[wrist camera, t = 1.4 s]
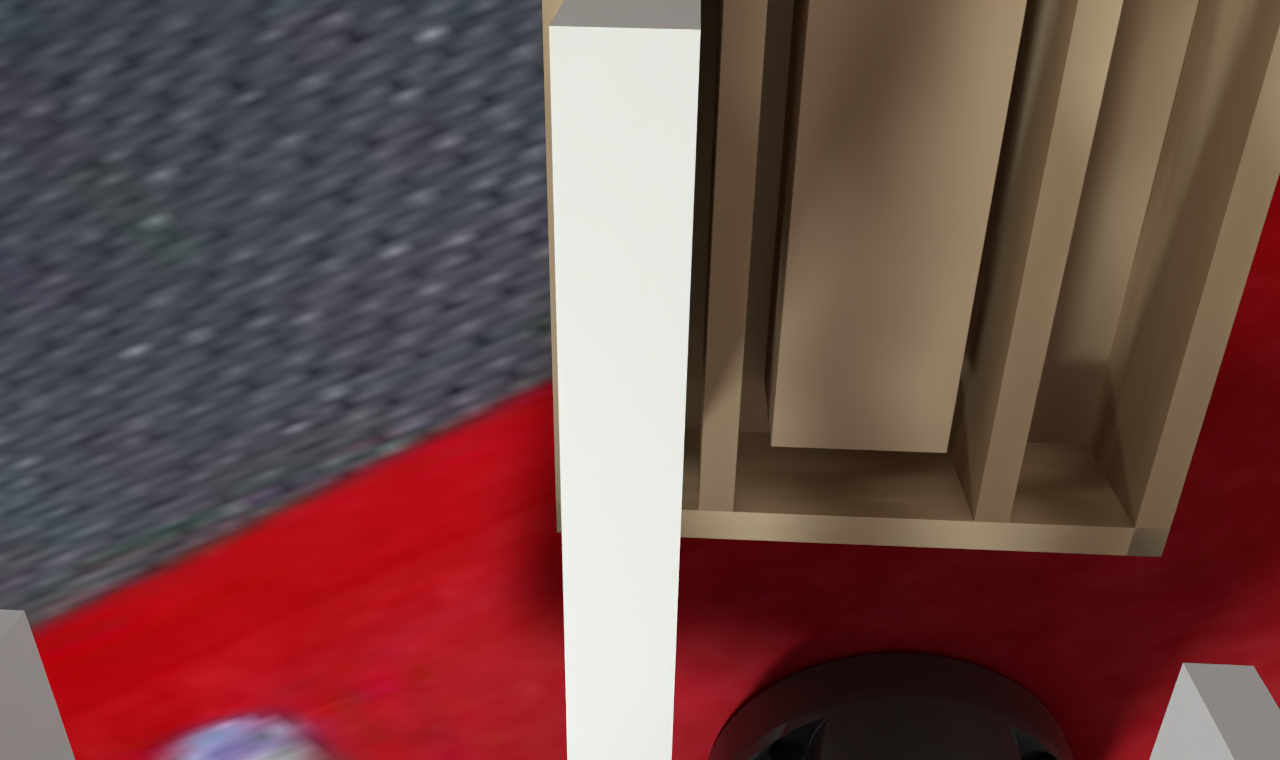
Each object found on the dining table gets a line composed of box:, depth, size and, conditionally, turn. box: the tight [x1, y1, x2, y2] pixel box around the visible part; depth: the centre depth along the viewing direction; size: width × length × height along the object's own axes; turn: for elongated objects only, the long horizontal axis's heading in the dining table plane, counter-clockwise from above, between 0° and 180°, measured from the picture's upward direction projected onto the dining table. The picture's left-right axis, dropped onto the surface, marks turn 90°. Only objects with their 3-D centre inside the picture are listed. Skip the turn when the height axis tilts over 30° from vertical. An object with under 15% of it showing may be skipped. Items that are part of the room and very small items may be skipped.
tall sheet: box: [549, 0, 701, 760], centre depth 25 cm, size 2×14×16 cm, turn 179°
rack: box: [542, 0, 1280, 557], centre depth 30 cm, size 18×20×6 cm
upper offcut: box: [768, 0, 1027, 453], centre depth 29 cm, size 5×14×2 cm, turn 179°
